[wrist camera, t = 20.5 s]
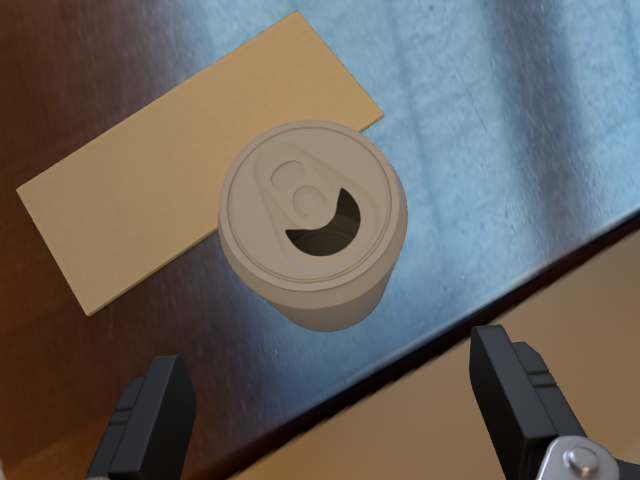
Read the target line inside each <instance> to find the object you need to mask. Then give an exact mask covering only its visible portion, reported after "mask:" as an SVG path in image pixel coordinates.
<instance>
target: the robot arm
mask: <svg viewBox="0 0 640 480" xmlns="http://www.w3.org/2000/svg"><path fill="white" fill-rule="evenodd" d="M469 373H470V381H471V385H472V389H473V392H474V395H475V398H476V400H477V403H478V406H479V408H480V411H481V414H482V416H483V419H484V421H485V424H486V427H487V429H488V432H489V434H490V437H491V440H492V443H493V446H494V448H495V451H496V454H497V456H498V459H499V462H500V464H501V467H502V470H503V472H504V475H505V477H506V480H640V465H638V464H633V463H628V462H624V461H622V460H619V459H616V458H614V457H613V456H612V455H611V453H610V452H608V451H607V449H605V448H604V447H603V446H602V445H600V444H598V443H597V442H595V441H593V440H591V439H589V438H588V436H587V435H586V434H585V432H584V430H583V428H582V427H581V425H580V423H579V421H578V420H577V418H576V416H575V415H574V413H573V411H572V409H571V408H570V406H569V404H568V403H567V401H566V399H565V397H564V396H563V394H562V392H561V390H560V389H559V387H558V386H557V385H556V382H555V380H554V378H553V377H552V375H551V373H549V370H548V368H547V366H546V364H545V363H544V361H543V359H542V357H541V356H540V354H539V353H537V352H536V351H535V350H534V349H533V348H531V347H530V346H529V345H528V344H526V343H525V342H516V343H511V341H510V339H509V337H508V335H507V333H506V331H505V329H504V328H503V326H502V325H500V324H498V325H488V326H478V327H473V328H472V330H471V346H470V362H469ZM196 410H197V401H196V394H195V390H194V387H193V384H192V381H191V378H190V375H189V372H188V369H187V366H186V363H185V360H184V358H183V356H182V355H180V354H179V355H169V356H158V357H153V358H152V360H151V361H150V364H149V366H148V369H147V372H146V374H145V377H137V378H134V379H133V380H132V382H131V383H130V384H129V385H128V386H127V387H126V388H125V389H124V390H123V392H122V393H121V395H120V397H119V399H118V402H117V404H116V406H115V409H114V413H112V416H111V418H110V420H109V425H108V426H107V427H106V430H105V432H104V434H103V437H102V439H101V441H100V444H99V446H98V448H97V451H96V453H95V455H94V458H93V460H92V462H91V464H90V467H89V469H88V471H87V474H86V476H85V478H84V480H180V477H181V473H182V469H183V465H184V461H185V457H186V453H187V449H188V445H189V441H190V437H191V433H192V429H193V425H194V421H195V416H196Z"/></svg>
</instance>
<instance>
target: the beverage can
mask: <svg viewBox="0 0 640 480" xmlns="http://www.w3.org/2000/svg"><path fill="white" fill-rule="evenodd" d="M407 221H408V211H407V201H406V196H405V193H404V189H403V186H402V183H401V181H400V179H399V177H398V175H397V173H396V171H395V170H394V168H393V167H392V165H391V164H390V163H389V161H388V160H387V158H386V157H385V155H384V154H383V153H382V151H381V150H380V149H379V148H378V147H377V146H376V145H375V144H374V143H373V142H372V141H371V140H369V139H368V138H367V137H366V136H364V135H363V134H361V133H360V132H358V131H356V130H354V129H352V128H350V127H348V126H345V125H343V124H340V123H336V122H332V121H327V120H318V119H305V120H297V121H292V122H287V123H283V124H281V125H278V126H275V127H273V128H271V129H269V130H267V131H265V132H263V133H262V134H260V135H258V136H257V137H255V138H254V139H253V140H252V141H251V142H249V143H248V144H247V145H246V146H245V147H244V148H243V149H242V150H241V151H240V153H239V154H238V155H237V156H236V158H235V159H234V161H233V162H232V164H231V166H230V167H229V169H228V171H227V173H226V176H225V178H224V181H223V184H222V188H221V192H220V199H219V209H218V231H219V237H220V242H221V245H222V248H223V251H224V253H225V256H226V258H227V260H228V262H229V264H230V265H231V267H232V268H233V270H234V271H235V273H236V274H237V275H238V276H239V278H240V279H241V280H242V281H243V282H244V283H245V284H246V285H247V286H249V287H250V288H251V289H252V290H253V291H255V292H256V293H257V294H258V295H260V296H261V297H262V298H263V299H265V300H266V301H267V302H268V303H270V304H271V305H272V306H273V307H275V308H276V309H277V310H278V311H280V312H281V313H282V314H283V315H285V316H286V317H287V318H288V319H290V320H291V321H292V322H294V323H295V324H297V325H299V326H301V327H303V328H306V329H309V330H313V331H320V332H331V331H338V330H343V329H347V328H349V327H351V326H354V325H356V324H357V323H359V322H361V321H362V320H363V319H365V318H366V317H367V316H368V315H369V314H370V313H371V312H372V311H373V310H374V309H375V307H376V306H377V305H378V303H379V302H380V300H381V298H382V296H383V293H384V291H385V288H386V286H387V283H388V281H389V278H390V276H391V273H392V271H393V268H394V266H395V263H396V261H397V258H398V256H399V253H400V251H401V248H402V246H403V242H404V239H405V235H406V230H407Z"/></svg>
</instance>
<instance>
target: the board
mask: <svg viewBox="0 0 640 480" xmlns="http://www.w3.org/2000/svg"><path fill="white" fill-rule="evenodd" d="M383 117H384V113H383V112H382V110H381V109H380V108H379V107H378V106H377V104H376V103H375V102H374V101H373V100H372V98H371V97H370V96H369V95H368V94H367V93H366V91H365V90H364V89H363V88H362V87H361V85H360V84H359V83H358V82H357V81H356V79H355V78H354V77H353V76H352V75H351V73H350V72H349V71H348V70H347V69H346V68H345V66H344V65H343V64H342V63H341V62H340V60H339V59H338V58H337V57H336V56H335V54H334V53H333V52H332V51H331V50H330V48H329V47H328V46H327V45H326V44H325V43H324V41H323V40H322V39H321V38H320V37H319V35H318V34H317V33H316V32H315V31H314V29H313V28H312V27H311V26H310V25H309V23H308V22H307V21H306V20H305V19H304V18H303V16H302V15H301V14H300V13H299V12H298V10H296V11H294V12H293V13H291V14H290V15H288V16H286V17H285V18H283V19H282V20H280V21H279V22H277V23H276V24H274V25H272V26H271V27H269V28H268V29H266V30H265V31H263V32H261V33H260V34H258V35H257V36H255V37H254V38H252V39H250V40H249V41H247V42H246V43H244V44H243V45H241V46H240V47H238V48H236V49H235V50H233V51H232V52H230V53H229V54H227V55H225V56H224V57H222V58H221V59H219V60H218V61H216V62H214V63H213V64H211V65H210V66H208V67H207V68H205V69H204V70H202V71H200V72H199V73H197V74H196V75H194V76H193V77H191V78H189V79H188V80H186V81H185V82H183V83H182V84H180V85H179V86H177V87H175V88H174V89H172V90H171V91H169V92H168V93H166V94H164V95H163V96H161V97H160V98H158V99H157V100H155V101H153V102H152V103H150V104H149V105H147V106H146V107H144V108H143V109H141V110H139V111H138V112H136V113H135V114H133V115H132V116H130V117H128V118H127V119H125V120H124V121H122V122H121V123H119V124H117V125H116V126H114V127H113V128H111V129H110V130H108V131H107V132H105V133H103V134H102V135H100V136H99V137H97V138H96V139H94V140H92V141H91V142H89V143H88V144H86V145H85V146H83V147H81V148H80V149H78V150H77V151H75V152H74V153H72V154H71V155H69V156H67V157H66V158H64V159H63V160H61V161H60V162H58V163H56V164H55V165H53V166H52V167H50V168H49V169H47V170H45V171H44V172H42V173H41V174H39V175H38V176H36V177H35V178H33V179H31V180H30V181H28V182H27V183H25V184H24V185H22V186H20V187H19V188H17V189H16V191H17V193H18V194H19V196H20V198H21V200H22V202H23V203H24V205H25V207H26V209H27V211H28V212H29V214H30V216H31V218H32V219H33V221H34V223H35V225H36V227H37V228H38V230H39V232H40V234H41V235H42V237H43V239H44V241H45V243H46V244H47V246H48V248H49V250H50V251H51V253H52V255H53V257H54V259H55V260H56V262H57V264H58V266H59V267H60V269H61V271H62V273H63V275H64V276H65V278H66V280H67V282H68V284H69V285H70V287H71V289H72V291H73V292H74V294H75V296H76V298H77V300H78V301H79V303H80V305H81V307H82V308H83V310H84V312H85V314H86V315H87V316H91V315H93V314H94V313H96V312H97V311H99V310H100V309H102V308H103V307H105V306H106V305H108V304H109V303H110V302H112V301H113V300H115V299H116V298H118V297H119V296H121V295H122V294H124V293H125V292H127V291H128V290H130V289H131V288H133V287H134V286H136V285H137V284H138V283H140V282H141V281H143V280H144V279H146V278H147V277H149V276H150V275H152V274H153V273H155V272H156V271H158V270H159V269H161V268H162V267H164V266H165V265H166V264H168V263H169V262H171V261H172V260H174V259H175V258H177V257H178V256H180V255H181V254H183V253H184V252H186V251H187V250H189V249H190V248H192V247H193V246H194V245H196V244H197V243H199V242H200V241H202V240H203V239H205V238H206V237H208V236H209V235H211V234H212V233H214V232H215V231H217V230H218V209H219V199H220V192H221V188H222V184H223V181H224V178H225V176H226V173H227V171H228V169H229V167H230V166H231V164H232V162H233V161H234V159H235V158H236V156H237V155H238V154H239V153H240V151H241V150H242V149H243V148H244V147H245V146H246V145H247V144H248V143H249V142H251V141H252V140H253V139H254V138H255V137H257V136H258V135H260V134H262V133H263V132H265V131H267V130H269V129H271V128H273V127H275V126H278V125H281V124H283V123H287V122H292V121H297V120H305V119H318V120H327V121H332V122H336V123H340V124H343V125H345V126H348V127H350V128H352V129H354V130H356V131H358V132H360V133H361V132H362V131H364V130H365V129H367V128H368V127H370V126H371V125H373V124H374V123H376V122H377V121H379V120H380V119H382V118H383Z"/></svg>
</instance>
